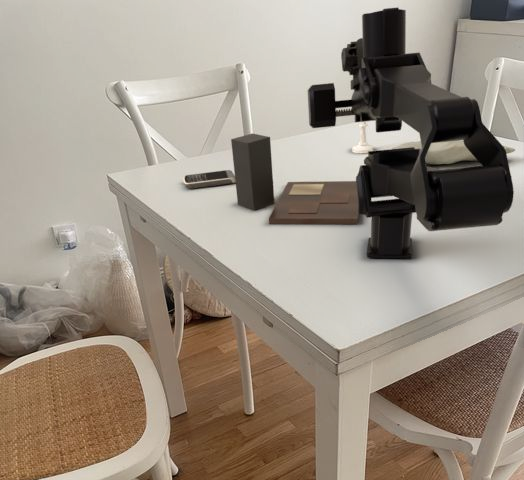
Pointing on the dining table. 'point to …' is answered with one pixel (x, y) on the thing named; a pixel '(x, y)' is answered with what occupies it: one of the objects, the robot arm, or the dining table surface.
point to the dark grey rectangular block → (253, 171)
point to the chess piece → (362, 141)
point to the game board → (317, 203)
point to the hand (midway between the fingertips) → (356, 105)
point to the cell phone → (209, 179)
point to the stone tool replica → (446, 152)
